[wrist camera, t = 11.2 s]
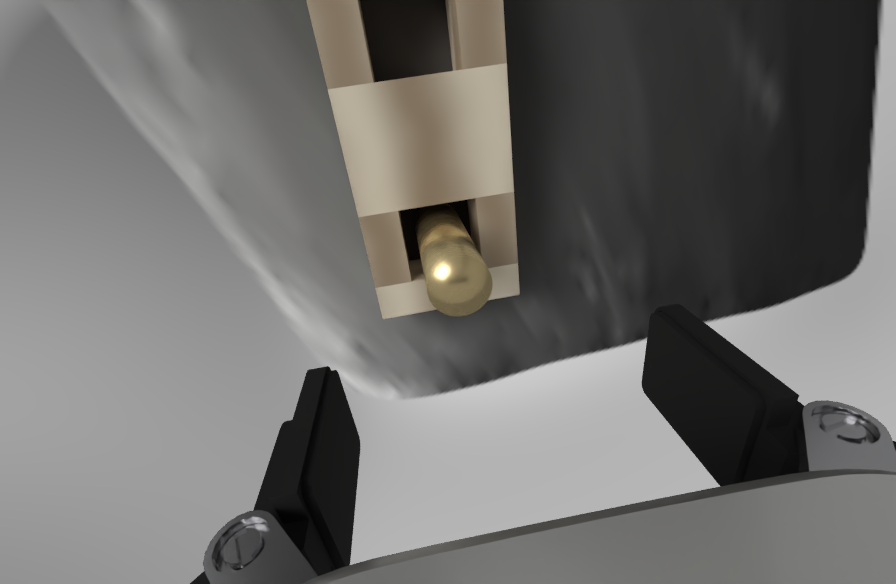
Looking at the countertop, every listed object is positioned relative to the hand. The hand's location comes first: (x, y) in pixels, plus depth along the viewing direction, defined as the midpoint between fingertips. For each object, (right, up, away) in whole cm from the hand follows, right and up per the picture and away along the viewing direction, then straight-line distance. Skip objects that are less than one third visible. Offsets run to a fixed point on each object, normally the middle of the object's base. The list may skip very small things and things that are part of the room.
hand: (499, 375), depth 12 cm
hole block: (-3, +12, +13) cm, 18 cm away
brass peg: (-2, +7, +15) cm, 17 cm away
